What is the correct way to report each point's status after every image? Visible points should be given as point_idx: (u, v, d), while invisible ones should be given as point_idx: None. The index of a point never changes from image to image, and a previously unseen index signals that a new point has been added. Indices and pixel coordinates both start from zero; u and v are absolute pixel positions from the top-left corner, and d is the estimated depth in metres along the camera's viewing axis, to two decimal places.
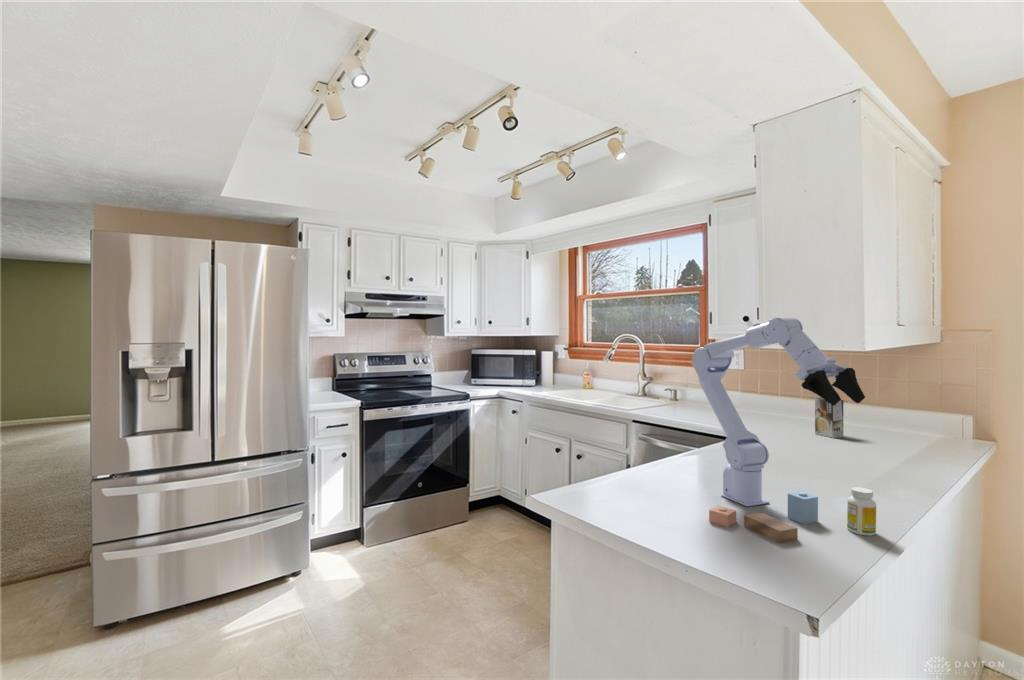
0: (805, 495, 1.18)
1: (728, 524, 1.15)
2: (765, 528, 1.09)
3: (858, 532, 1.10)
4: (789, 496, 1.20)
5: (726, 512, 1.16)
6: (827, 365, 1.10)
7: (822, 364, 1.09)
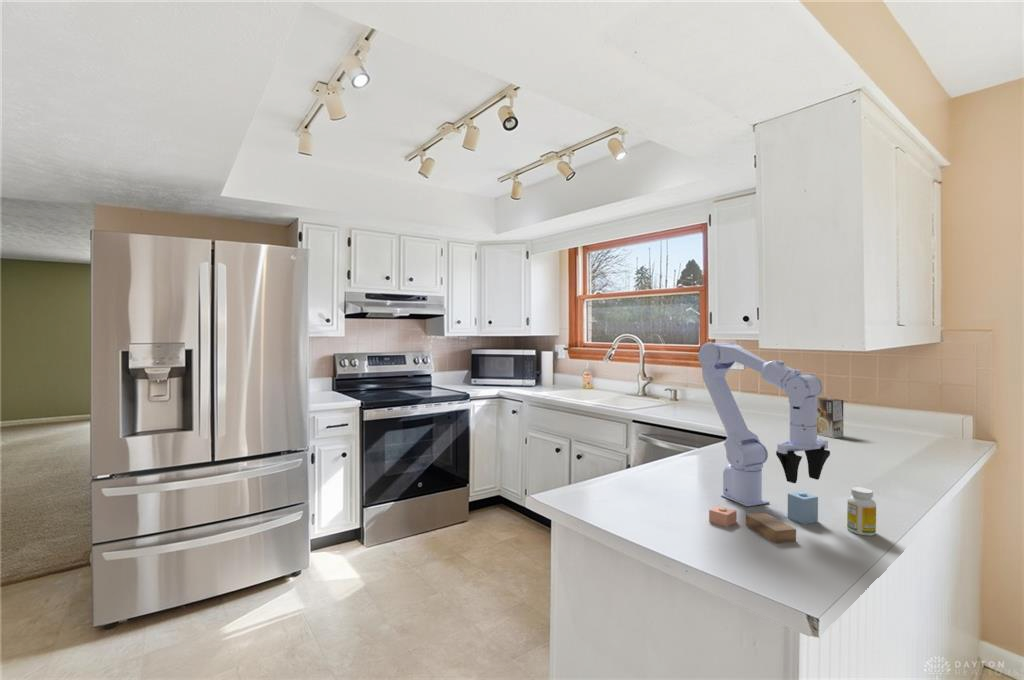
0: (805, 495, 1.18)
1: (728, 524, 1.15)
2: (763, 528, 1.09)
3: (858, 532, 1.10)
4: (789, 496, 1.20)
5: (726, 512, 1.16)
6: None
7: (806, 447, 1.15)
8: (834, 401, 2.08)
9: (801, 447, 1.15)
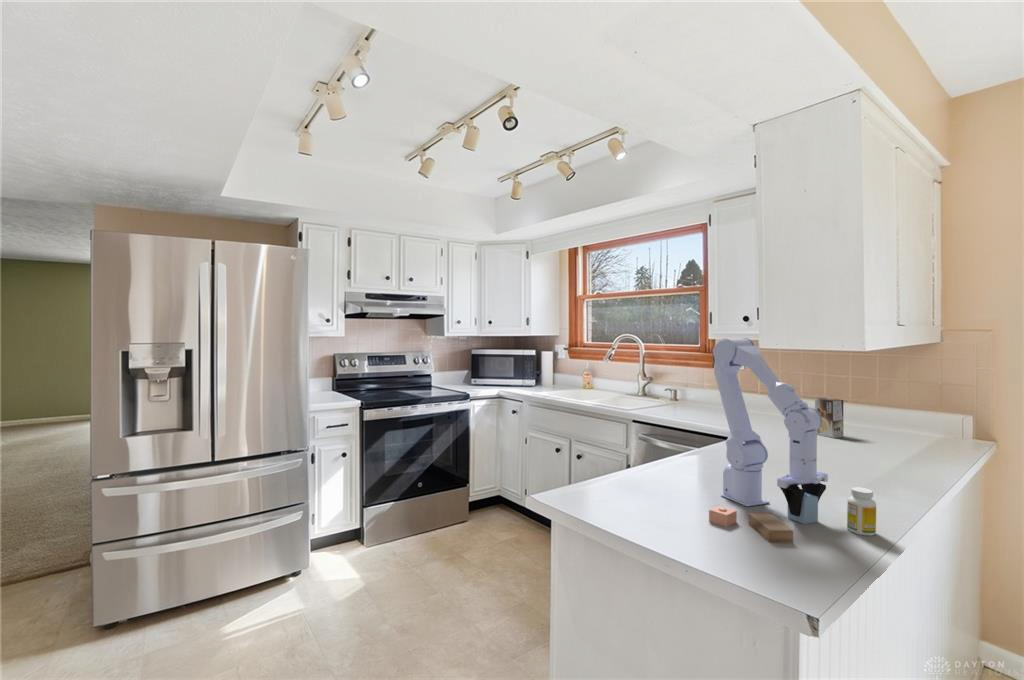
0: (805, 495, 1.18)
1: (728, 524, 1.15)
2: (761, 527, 1.10)
3: (858, 532, 1.10)
4: None
5: (726, 512, 1.16)
6: None
7: (805, 481, 1.16)
8: (834, 401, 2.08)
9: (801, 481, 1.16)
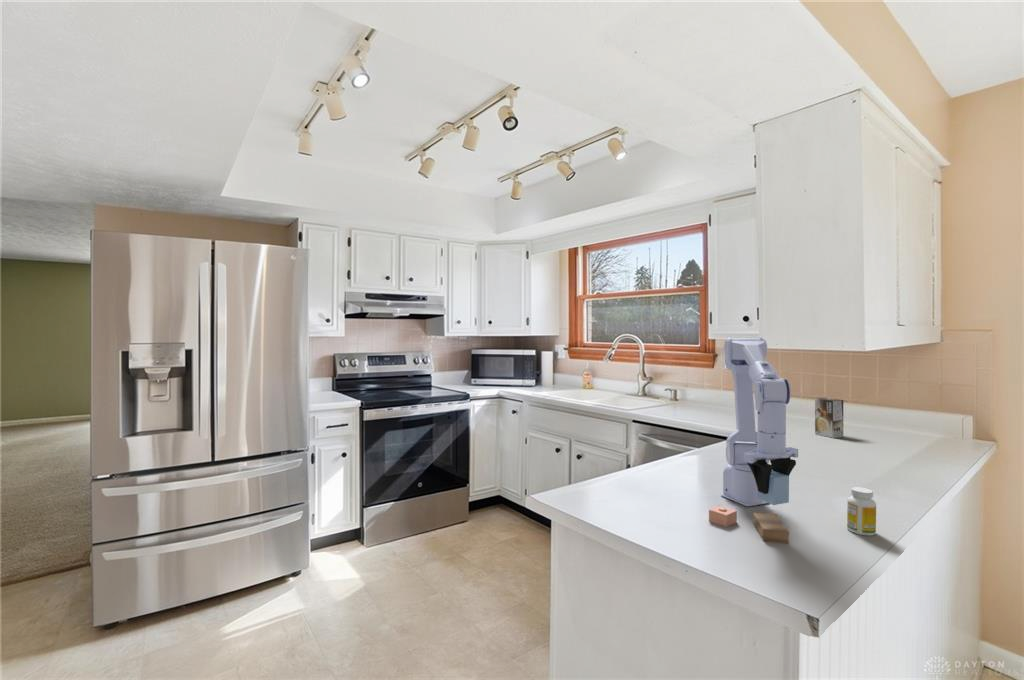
0: (775, 474, 1.10)
1: (727, 524, 1.15)
2: (759, 526, 1.10)
3: (858, 532, 1.10)
4: None
5: (726, 512, 1.16)
6: None
7: (773, 456, 1.08)
8: (834, 401, 2.08)
9: (768, 456, 1.08)
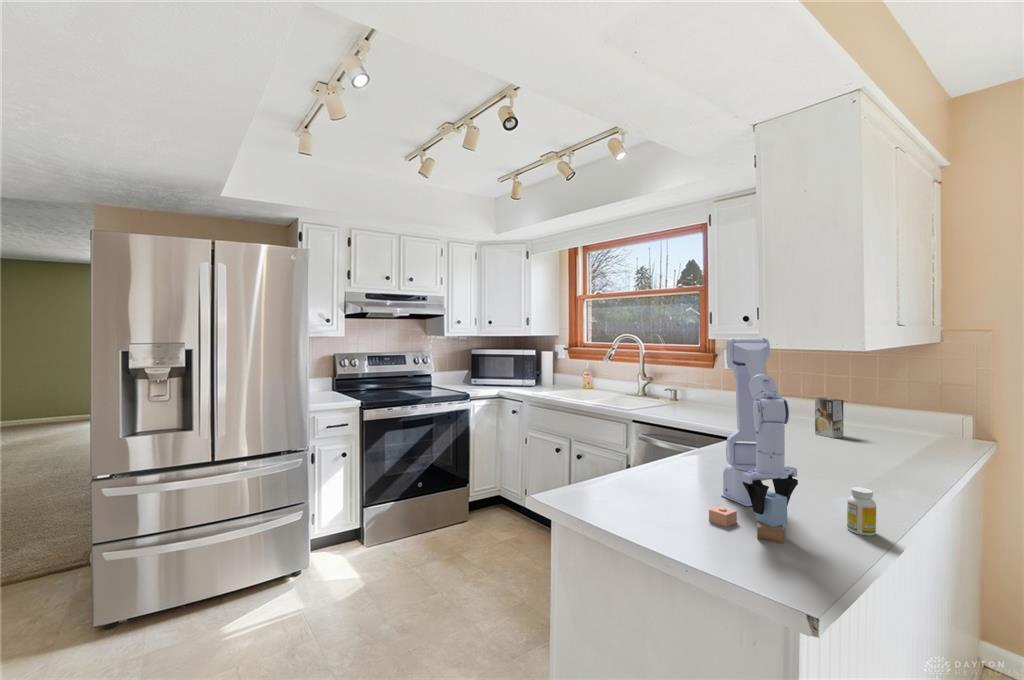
0: (773, 495, 1.10)
1: (727, 524, 1.15)
2: None
3: (858, 532, 1.10)
4: None
5: (726, 512, 1.16)
6: None
7: (772, 476, 1.08)
8: (834, 401, 2.08)
9: (767, 476, 1.08)
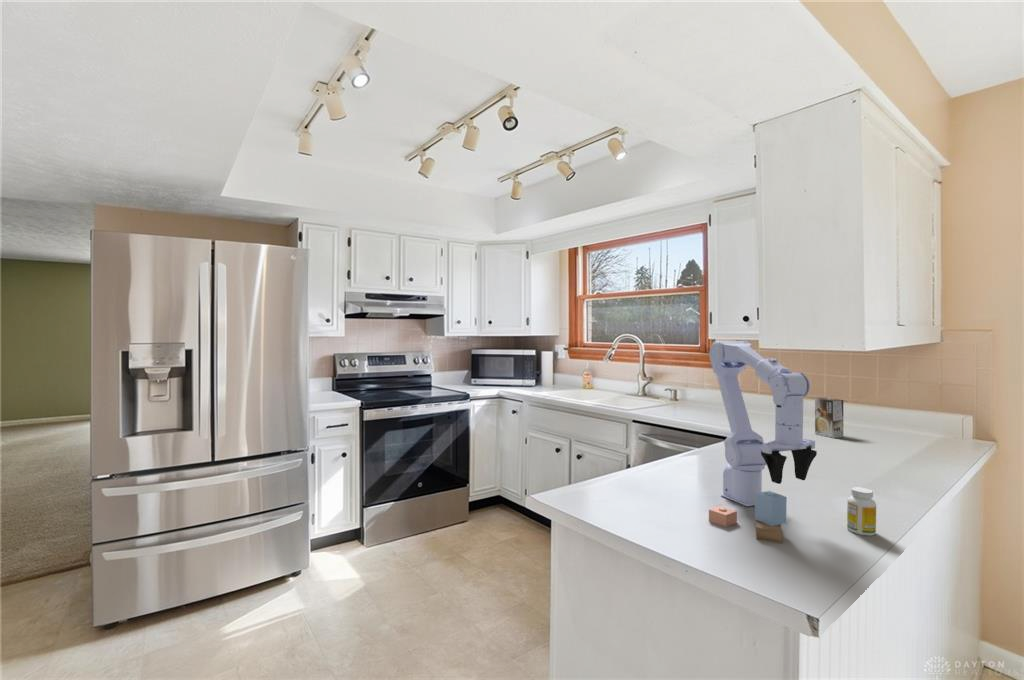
0: (773, 495, 1.10)
1: (727, 524, 1.15)
2: None
3: (858, 532, 1.10)
4: (756, 496, 1.12)
5: (726, 512, 1.16)
6: None
7: (791, 447, 1.13)
8: (834, 401, 2.08)
9: (786, 447, 1.13)
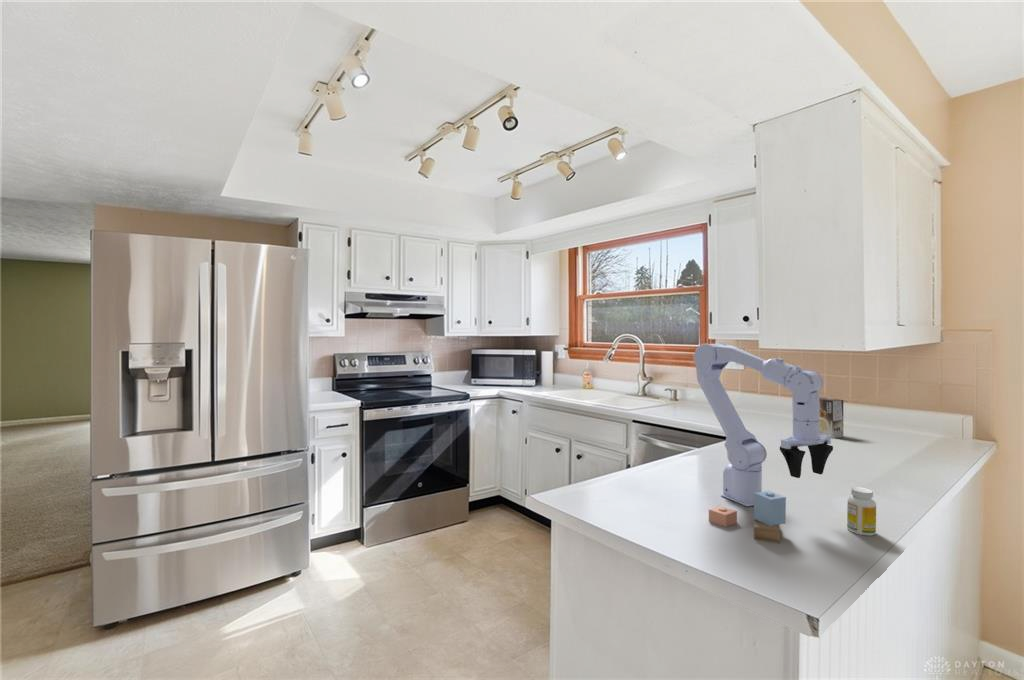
0: (772, 495, 1.10)
1: (726, 524, 1.15)
2: None
3: (858, 532, 1.10)
4: (756, 496, 1.12)
5: (725, 512, 1.16)
6: None
7: (809, 442, 1.17)
8: (834, 401, 2.08)
9: (804, 442, 1.17)
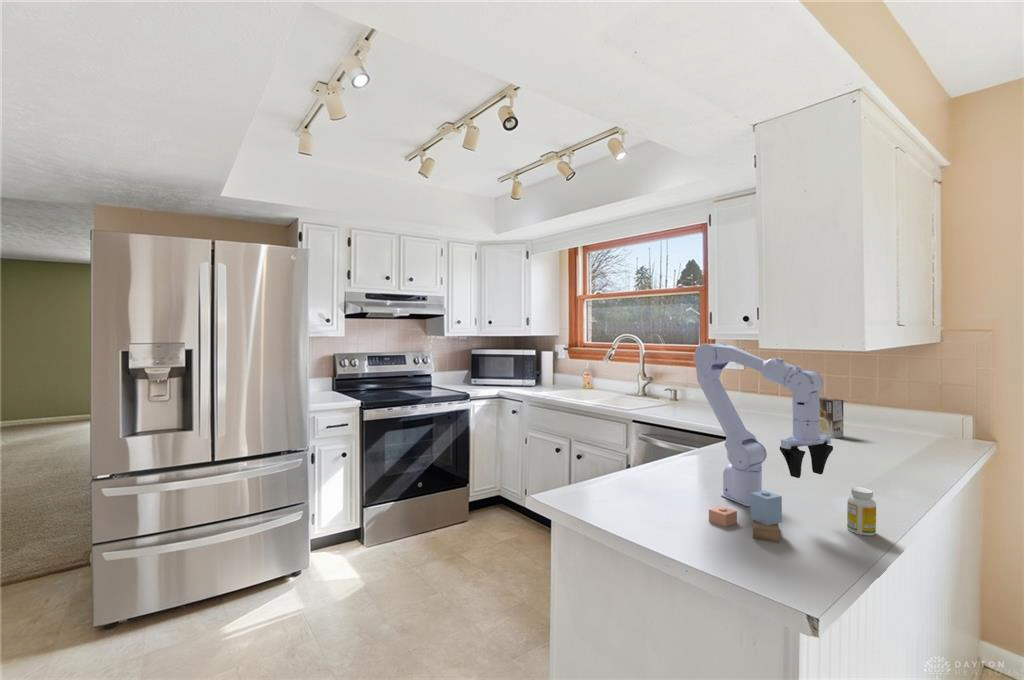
0: (768, 494, 1.11)
1: (726, 524, 1.15)
2: None
3: (858, 532, 1.10)
4: (752, 496, 1.12)
5: (725, 512, 1.16)
6: None
7: (809, 442, 1.17)
8: (834, 401, 2.08)
9: (804, 442, 1.17)
